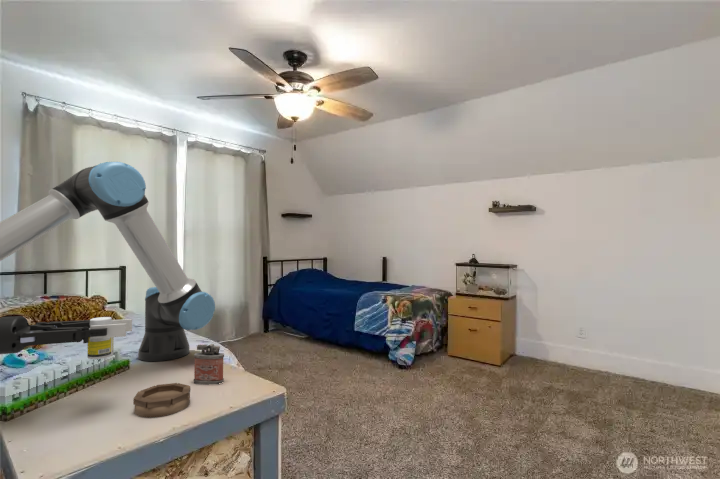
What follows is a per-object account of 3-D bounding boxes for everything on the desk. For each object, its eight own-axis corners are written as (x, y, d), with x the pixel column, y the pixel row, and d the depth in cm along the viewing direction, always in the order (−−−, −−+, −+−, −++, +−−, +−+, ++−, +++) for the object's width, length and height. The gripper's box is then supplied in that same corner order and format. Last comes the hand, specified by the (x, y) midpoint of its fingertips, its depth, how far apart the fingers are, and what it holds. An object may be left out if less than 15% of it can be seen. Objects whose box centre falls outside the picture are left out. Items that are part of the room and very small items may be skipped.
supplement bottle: (95, 353, 84) (96, 316, 84) (117, 353, 85) (118, 316, 85) (82, 360, 79) (82, 320, 80) (105, 359, 80) (106, 320, 80)
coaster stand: (140, 400, 87) (140, 386, 87) (191, 394, 90) (192, 381, 90) (128, 420, 76) (129, 405, 76) (187, 413, 80) (187, 398, 80)
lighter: (226, 380, 100) (226, 343, 100) (220, 385, 96) (220, 346, 97) (197, 379, 101) (198, 342, 101) (190, 384, 97) (191, 345, 98)
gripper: (20, 343, 84) (137, 335, 92) (-31, 367, 68) (117, 354, 76) (21, 310, 84) (137, 305, 92) (-30, 326, 68) (118, 317, 76)
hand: (128, 327), depth 84 cm, fingers closed on supplement bottle, 5 cm apart
